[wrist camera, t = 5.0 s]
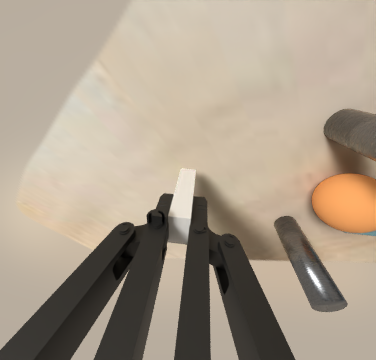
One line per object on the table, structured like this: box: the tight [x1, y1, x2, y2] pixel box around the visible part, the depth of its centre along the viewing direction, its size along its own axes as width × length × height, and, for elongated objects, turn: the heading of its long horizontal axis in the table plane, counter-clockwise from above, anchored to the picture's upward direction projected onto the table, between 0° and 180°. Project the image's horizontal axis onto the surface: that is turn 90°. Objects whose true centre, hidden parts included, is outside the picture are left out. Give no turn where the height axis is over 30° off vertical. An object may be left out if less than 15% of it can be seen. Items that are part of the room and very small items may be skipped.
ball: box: [312, 173, 376, 233], centre depth 15 cm, size 6×6×6 cm
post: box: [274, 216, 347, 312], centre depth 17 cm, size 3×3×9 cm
